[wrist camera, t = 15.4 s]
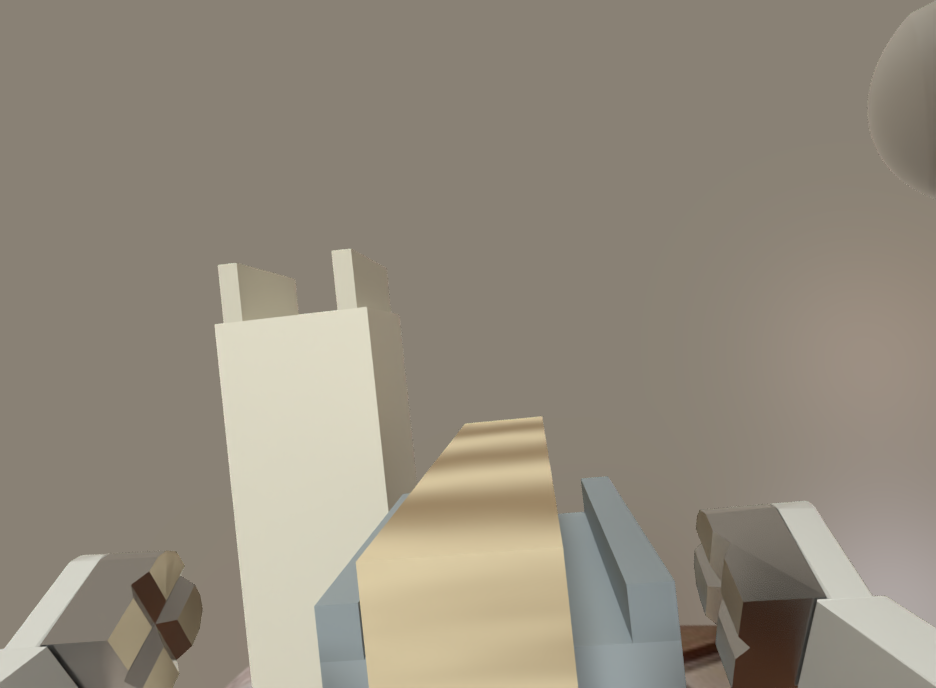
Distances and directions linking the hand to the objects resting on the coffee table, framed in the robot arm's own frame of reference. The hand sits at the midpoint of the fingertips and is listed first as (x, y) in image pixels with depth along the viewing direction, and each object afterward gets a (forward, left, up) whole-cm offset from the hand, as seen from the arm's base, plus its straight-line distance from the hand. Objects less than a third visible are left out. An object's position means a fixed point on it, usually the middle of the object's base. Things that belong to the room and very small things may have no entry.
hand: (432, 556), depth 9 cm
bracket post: (+18, -20, -20) cm, 33 cm away
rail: (+4, -11, -5) cm, 13 cm away
